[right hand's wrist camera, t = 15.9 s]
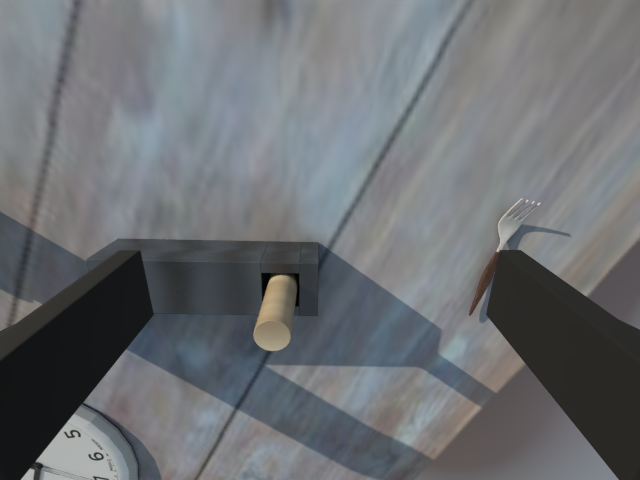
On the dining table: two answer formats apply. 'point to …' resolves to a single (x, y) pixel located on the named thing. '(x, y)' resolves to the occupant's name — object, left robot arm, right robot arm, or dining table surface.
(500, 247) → the fork
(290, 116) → the dining table surface
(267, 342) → the peg
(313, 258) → the peg board
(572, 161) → the dining table surface
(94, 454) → the wall clock
